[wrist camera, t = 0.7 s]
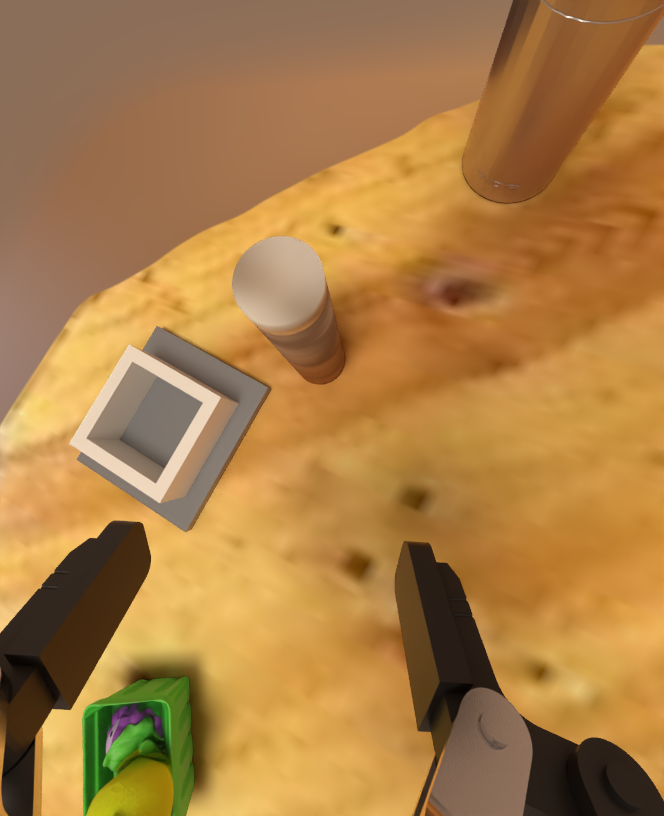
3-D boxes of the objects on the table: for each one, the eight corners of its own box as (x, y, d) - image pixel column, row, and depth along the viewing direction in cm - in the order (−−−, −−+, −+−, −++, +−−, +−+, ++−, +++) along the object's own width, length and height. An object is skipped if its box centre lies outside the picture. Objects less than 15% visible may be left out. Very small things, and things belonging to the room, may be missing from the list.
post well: (162, 329, 36) (129, 309, 31) (271, 389, 33) (254, 378, 28) (85, 459, 35) (38, 461, 30) (190, 529, 33) (159, 543, 28)
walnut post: (311, 328, 34) (261, 222, 18) (354, 349, 33) (341, 258, 17) (287, 370, 34) (215, 300, 18) (329, 393, 33) (294, 341, 17)
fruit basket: (126, 665, 32) (-6, 782, 21) (213, 659, 31) (125, 777, 20) (130, 800, 30) (-9, 1006, 19) (222, 798, 29) (133, 1012, 18)
